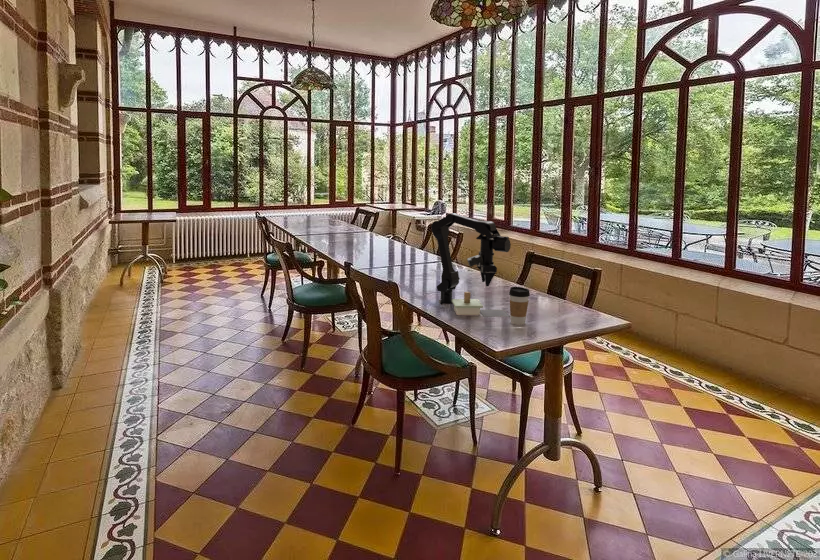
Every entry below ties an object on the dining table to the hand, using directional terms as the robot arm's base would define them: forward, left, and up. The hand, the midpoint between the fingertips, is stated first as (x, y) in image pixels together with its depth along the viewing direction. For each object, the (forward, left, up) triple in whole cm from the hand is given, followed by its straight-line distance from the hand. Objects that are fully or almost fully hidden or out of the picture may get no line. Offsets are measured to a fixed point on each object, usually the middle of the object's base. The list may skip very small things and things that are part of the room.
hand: (485, 284), depth 241 cm
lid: (+6, -9, -8) cm, 13 cm away
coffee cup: (+22, +10, -12) cm, 27 cm away
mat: (+7, +3, -12) cm, 14 cm away
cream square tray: (+6, -9, -12) cm, 16 cm away
